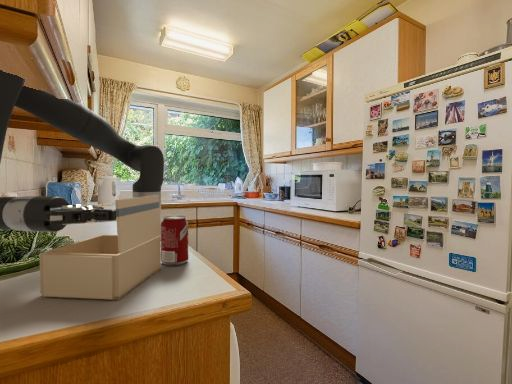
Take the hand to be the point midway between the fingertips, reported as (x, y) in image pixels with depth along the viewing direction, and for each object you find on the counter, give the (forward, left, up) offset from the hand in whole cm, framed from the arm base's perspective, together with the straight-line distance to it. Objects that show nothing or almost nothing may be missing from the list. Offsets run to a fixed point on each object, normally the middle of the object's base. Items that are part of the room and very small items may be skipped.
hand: (115, 215), depth 57 cm
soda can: (-11, +12, -14) cm, 21 cm away
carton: (-1, -1, -14) cm, 14 cm away
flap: (+2, +6, -6) cm, 8 cm away
